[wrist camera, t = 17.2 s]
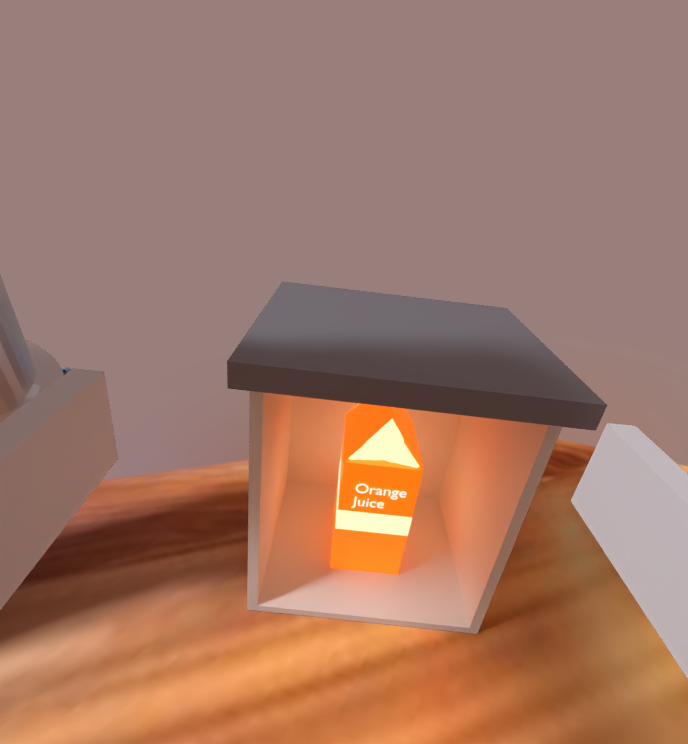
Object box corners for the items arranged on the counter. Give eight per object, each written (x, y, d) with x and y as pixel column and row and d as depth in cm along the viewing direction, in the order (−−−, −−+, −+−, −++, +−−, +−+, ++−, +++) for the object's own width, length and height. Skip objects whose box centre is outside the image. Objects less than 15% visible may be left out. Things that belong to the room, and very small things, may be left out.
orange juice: (393, 515, 53) (423, 377, 45) (399, 575, 46) (437, 422, 37) (332, 508, 53) (350, 369, 44) (327, 568, 45) (349, 413, 37)
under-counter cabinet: (231, 628, 39) (227, 361, 27) (273, 479, 58) (282, 281, 46) (492, 656, 40) (607, 405, 27) (450, 498, 59) (506, 308, 46)
